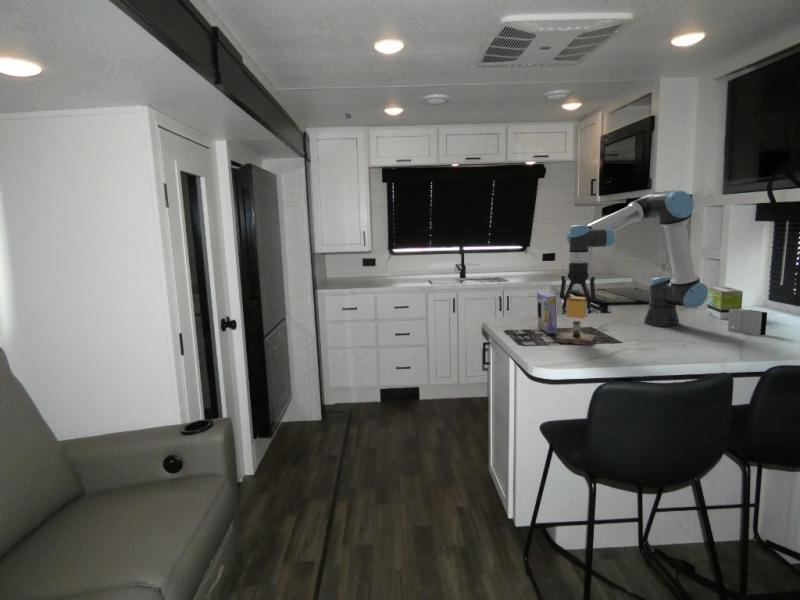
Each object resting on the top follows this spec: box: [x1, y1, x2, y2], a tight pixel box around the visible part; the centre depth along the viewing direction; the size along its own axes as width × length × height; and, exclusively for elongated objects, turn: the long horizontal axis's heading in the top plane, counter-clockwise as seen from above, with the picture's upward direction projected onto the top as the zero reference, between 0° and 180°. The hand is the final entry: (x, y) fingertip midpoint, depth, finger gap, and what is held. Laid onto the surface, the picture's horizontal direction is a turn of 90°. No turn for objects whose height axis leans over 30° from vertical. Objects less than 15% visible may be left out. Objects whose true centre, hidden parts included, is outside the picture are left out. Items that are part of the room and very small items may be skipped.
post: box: [572, 320, 581, 337], centre depth 212 cm, size 3×3×6 cm
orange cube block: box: [565, 295, 587, 319], centre depth 210 cm, size 7×7×8 cm
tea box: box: [706, 286, 744, 320], centre depth 253 cm, size 15×10×15 cm
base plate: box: [555, 331, 597, 346], centre depth 212 cm, size 14×12×2 cm
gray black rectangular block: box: [727, 308, 768, 336], centre depth 218 cm, size 14×5×10 cm, turn 37°
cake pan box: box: [536, 290, 558, 334], centre depth 234 cm, size 19×5×18 cm, turn 178°
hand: (576, 315), depth 211 cm, fingers closed on orange cube block, 7 cm apart
